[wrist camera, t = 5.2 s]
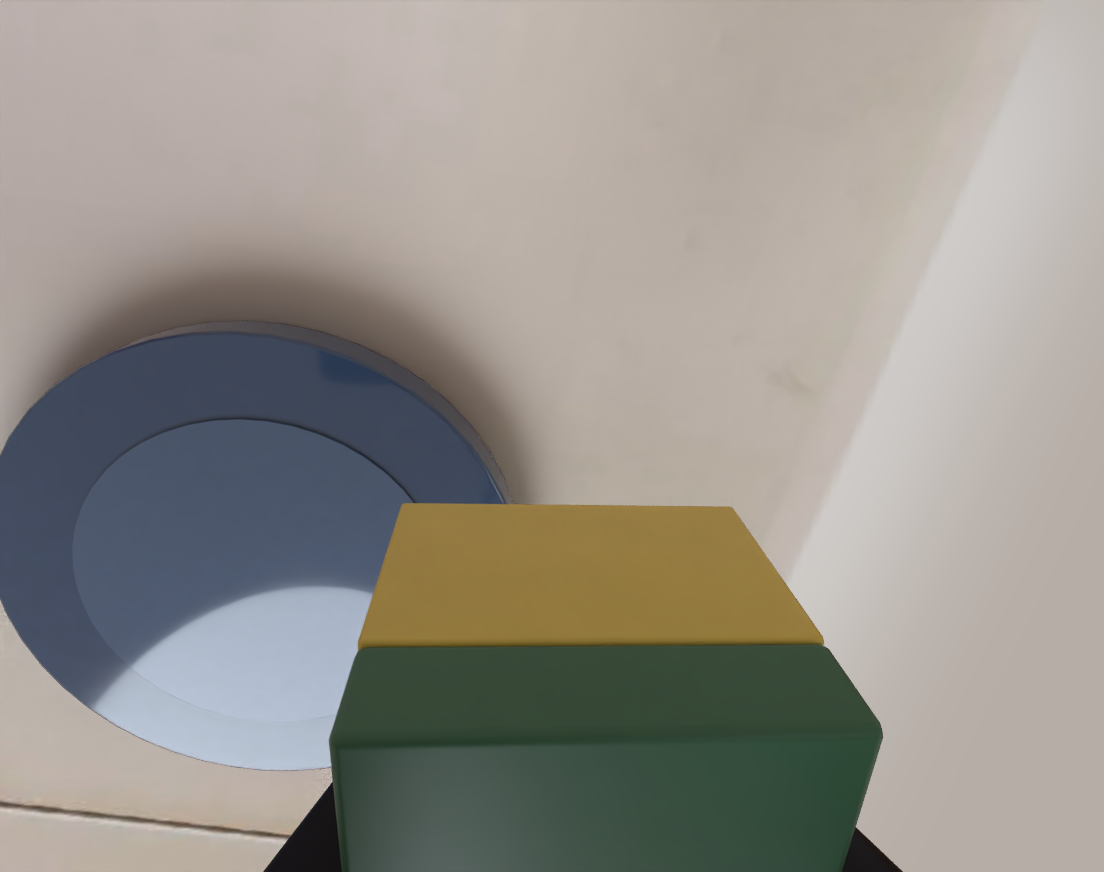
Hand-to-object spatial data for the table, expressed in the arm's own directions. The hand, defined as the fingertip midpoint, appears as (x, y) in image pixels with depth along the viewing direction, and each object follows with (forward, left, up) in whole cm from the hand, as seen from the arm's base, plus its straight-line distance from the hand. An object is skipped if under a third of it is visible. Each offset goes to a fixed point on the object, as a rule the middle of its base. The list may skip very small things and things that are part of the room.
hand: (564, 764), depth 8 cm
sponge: (0, 0, -1) cm, 1 cm away
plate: (-3, +7, -10) cm, 12 cm away
